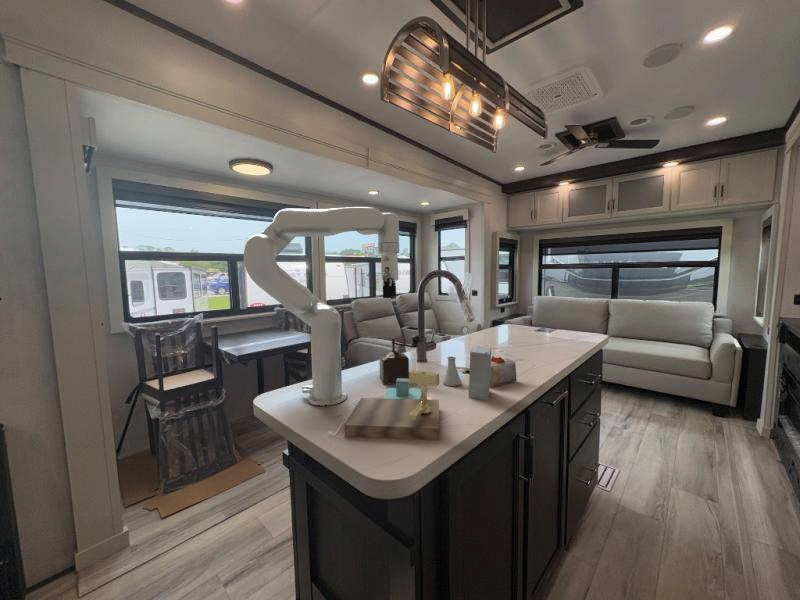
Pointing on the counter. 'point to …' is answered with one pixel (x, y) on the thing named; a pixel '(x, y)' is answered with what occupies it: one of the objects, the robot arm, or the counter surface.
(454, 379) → the flask
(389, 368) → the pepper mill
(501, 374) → the food item
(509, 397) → the counter surface
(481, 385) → the skincare box
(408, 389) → the cover
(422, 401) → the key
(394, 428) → the base
